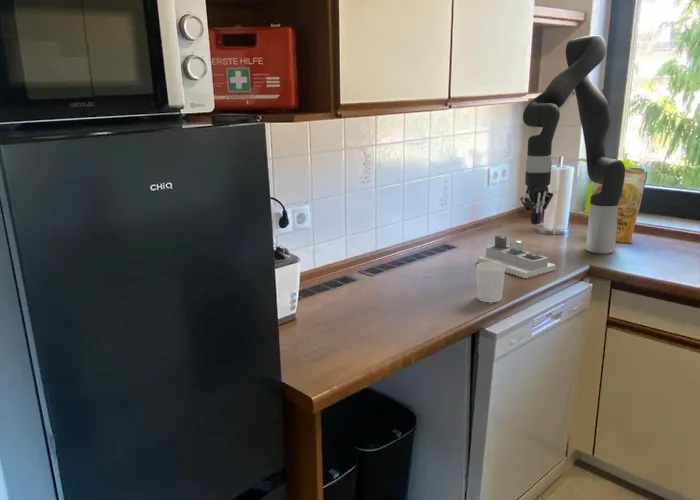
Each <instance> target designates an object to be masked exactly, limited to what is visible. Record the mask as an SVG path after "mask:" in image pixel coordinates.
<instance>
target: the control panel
mask: <svg viewBox="0 0 700 500" xmlns="http://www.w3.org/2000/svg"><path fill="white" fill-rule="evenodd" d="M527 253H531V252H529V251H526V250H523V249H522V252H521V253H514V252H510V245H507V247H506V248H496V247H495V244H494V245H489V246H486V247H485V255H481V256H478V257H477V264H479V263H483V262H495V263H500V264H503V265H504V266H505V273H507V274H509V273H510V275H512V274H513V275H512V276H515V275H516V276H515V277H518V276H519V277H518V278H521V277H522V279H524V278H527V279H529V278H528V277H530V278H532V277H531V276H534V275H537V276H539V275H538V274H541V275H543V274H542V273H545V272H548V273H550V272H549V271H552V270H555V271H556V264H554V263H552V262H551V263H550V262H549V257H548V256H547V257H546V256H544V255H540V254H539V259H537V260H530V259H527V258H526V254H527ZM552 272H553V271H552ZM545 274H546V273H545ZM534 277H535V276H534Z"/></svg>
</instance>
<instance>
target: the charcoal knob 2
mask: <svg viewBox="0 0 700 500" xmlns="http://www.w3.org/2000/svg"><path fill="white" fill-rule="evenodd" d="M539 255H540V254H539V253H536V252H530V253H527V254H526V258H527V259H530V260H537V259H539Z"/></svg>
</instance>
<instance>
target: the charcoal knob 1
mask: <svg viewBox="0 0 700 500" xmlns="http://www.w3.org/2000/svg"><path fill="white" fill-rule="evenodd" d="M494 245H495V247H496V248H506V247H507V246H508V236H507V235H503V234H497V235H494Z"/></svg>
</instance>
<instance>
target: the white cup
mask: <svg viewBox="0 0 700 500" xmlns="http://www.w3.org/2000/svg"><path fill="white" fill-rule="evenodd" d="M505 273H506V272H505V266H504V265H503V264H500V263H495V262H483V263H477V265H476V290H477V300H478V299H479V300H480V301H479V300H478V301H479V302H481V301H484V302H483V303H485V302H496V301H500V300H501V299H502V298H503V292H504V291H503V290H504V283H505ZM502 300H503V299H502ZM502 300H501V301H502ZM501 301H500V302H501Z"/></svg>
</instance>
